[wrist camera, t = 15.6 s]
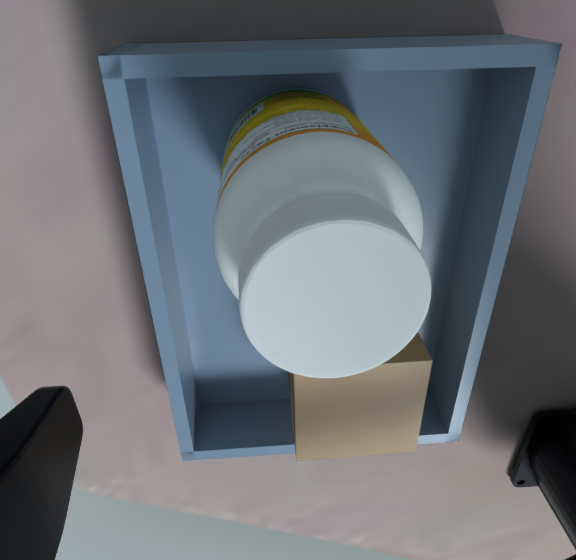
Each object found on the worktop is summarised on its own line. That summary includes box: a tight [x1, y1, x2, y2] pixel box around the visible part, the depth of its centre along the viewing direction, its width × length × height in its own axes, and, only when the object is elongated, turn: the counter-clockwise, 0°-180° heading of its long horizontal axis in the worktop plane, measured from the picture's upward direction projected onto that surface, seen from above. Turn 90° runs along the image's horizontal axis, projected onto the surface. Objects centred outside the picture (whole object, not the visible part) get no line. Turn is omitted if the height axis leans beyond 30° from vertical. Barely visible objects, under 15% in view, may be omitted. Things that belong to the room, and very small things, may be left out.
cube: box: [288, 332, 432, 461], centre depth 20 cm, size 5×5×5 cm
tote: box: [98, 34, 562, 461], centre depth 19 cm, size 17×13×4 cm
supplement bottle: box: [214, 88, 431, 378], centre depth 14 cm, size 5×5×10 cm
